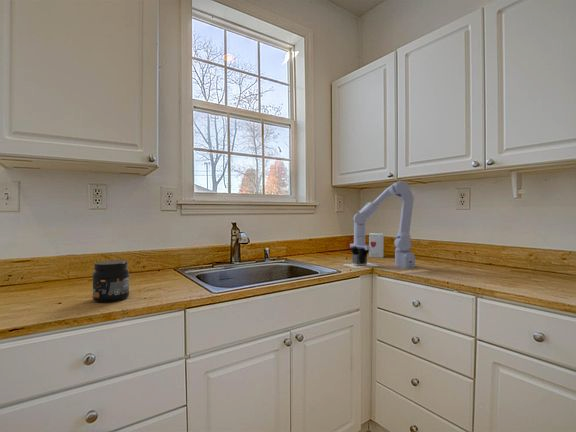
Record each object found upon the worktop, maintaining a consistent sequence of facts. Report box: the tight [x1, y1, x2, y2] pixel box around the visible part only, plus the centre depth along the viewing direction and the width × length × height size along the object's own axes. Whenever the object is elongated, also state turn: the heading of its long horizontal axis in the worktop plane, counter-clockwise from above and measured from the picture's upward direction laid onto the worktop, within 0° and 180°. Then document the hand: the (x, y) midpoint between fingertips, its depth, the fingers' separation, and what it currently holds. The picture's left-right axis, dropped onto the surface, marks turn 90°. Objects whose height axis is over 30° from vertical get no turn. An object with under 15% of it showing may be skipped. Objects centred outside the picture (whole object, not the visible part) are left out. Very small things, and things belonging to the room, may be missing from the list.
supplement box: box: [368, 232, 385, 259], centre depth 202 cm, size 9×9×15 cm
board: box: [341, 262, 381, 269], centre depth 161 cm, size 11×16×1 cm
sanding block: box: [352, 254, 368, 265], centre depth 161 cm, size 4×6×5 cm, turn 112°
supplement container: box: [91, 259, 130, 304], centre depth 102 cm, size 10×10×12 cm
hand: (359, 262), depth 161 cm, fingers closed on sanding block, 4 cm apart
